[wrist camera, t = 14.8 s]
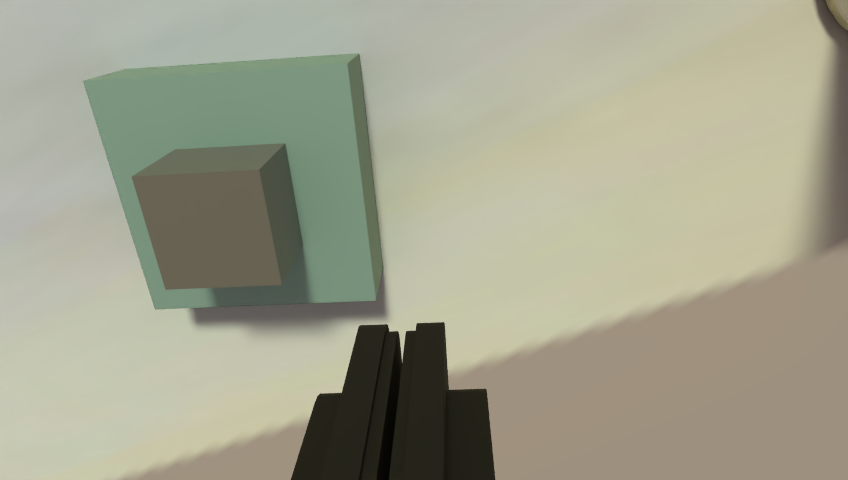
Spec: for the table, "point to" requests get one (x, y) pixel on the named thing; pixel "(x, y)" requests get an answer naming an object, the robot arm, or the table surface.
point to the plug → (221, 216)
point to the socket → (255, 125)
